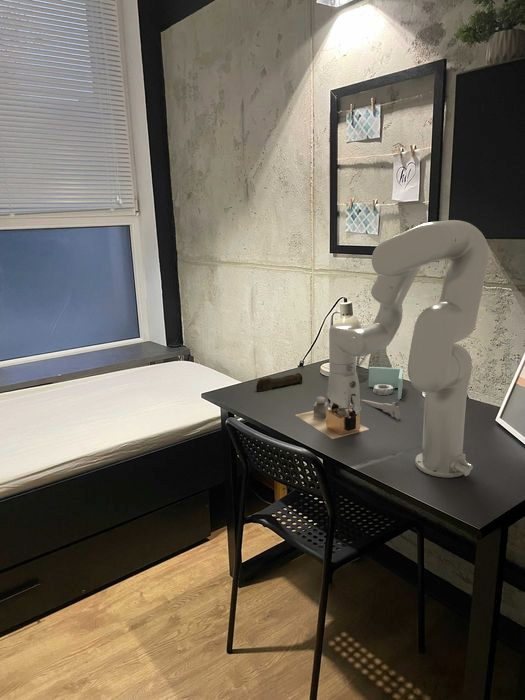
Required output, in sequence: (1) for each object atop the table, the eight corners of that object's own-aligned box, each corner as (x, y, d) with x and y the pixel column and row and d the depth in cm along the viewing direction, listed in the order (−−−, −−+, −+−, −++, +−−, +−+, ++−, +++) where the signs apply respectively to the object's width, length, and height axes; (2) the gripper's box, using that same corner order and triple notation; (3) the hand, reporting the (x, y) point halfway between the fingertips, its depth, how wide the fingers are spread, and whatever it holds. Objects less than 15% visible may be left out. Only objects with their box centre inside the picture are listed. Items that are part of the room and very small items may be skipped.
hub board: (369, 432, 150) (369, 410, 149) (332, 442, 145) (332, 419, 143) (329, 409, 169) (329, 389, 167) (295, 417, 163) (294, 397, 161)
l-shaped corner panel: (368, 386, 190) (369, 366, 188) (402, 388, 186) (403, 368, 185) (365, 397, 179) (365, 376, 177) (400, 399, 175) (401, 378, 173)
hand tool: (298, 381, 199) (297, 370, 198) (303, 384, 195) (303, 372, 194) (253, 390, 191) (253, 378, 190) (258, 393, 188) (257, 381, 187)
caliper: (400, 422, 157) (400, 403, 156) (397, 423, 157) (397, 404, 155) (360, 402, 175) (361, 384, 174) (358, 402, 175) (358, 385, 173)
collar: (359, 429, 150) (360, 413, 148) (339, 434, 147) (339, 418, 145) (345, 421, 156) (345, 406, 154) (326, 426, 153) (326, 410, 151)
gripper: (372, 372, 140) (371, 432, 145) (336, 358, 156) (336, 413, 160) (350, 377, 137) (350, 438, 142) (315, 362, 152) (316, 418, 157)
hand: (342, 424), depth 151 cm, fingers closed on collar, 7 cm apart
